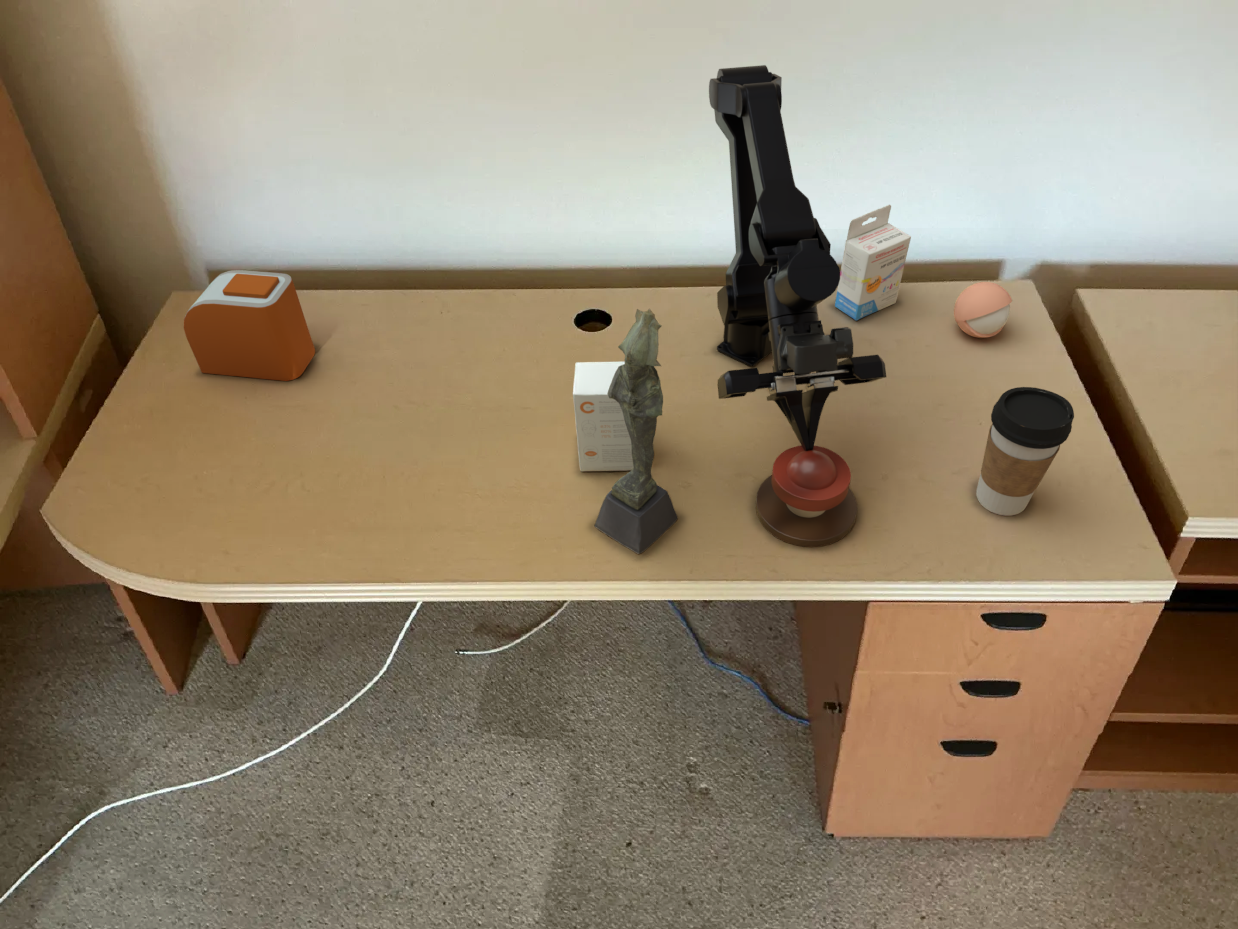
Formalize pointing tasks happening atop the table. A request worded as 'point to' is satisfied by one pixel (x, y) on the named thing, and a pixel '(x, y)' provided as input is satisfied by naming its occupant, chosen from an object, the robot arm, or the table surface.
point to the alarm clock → (250, 327)
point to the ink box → (871, 265)
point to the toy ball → (982, 309)
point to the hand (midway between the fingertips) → (808, 450)
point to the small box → (599, 420)
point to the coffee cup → (1021, 447)
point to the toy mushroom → (807, 498)
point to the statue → (638, 444)
